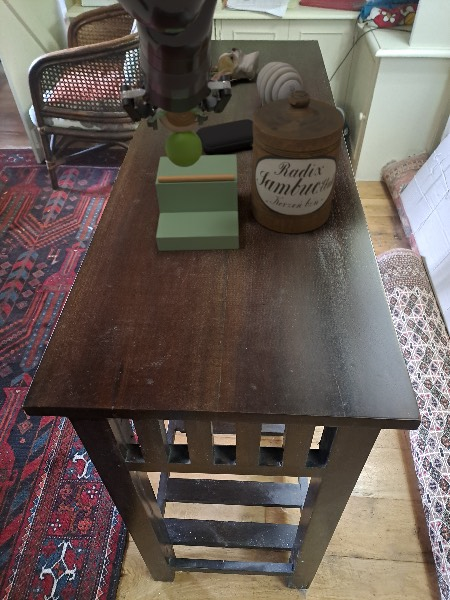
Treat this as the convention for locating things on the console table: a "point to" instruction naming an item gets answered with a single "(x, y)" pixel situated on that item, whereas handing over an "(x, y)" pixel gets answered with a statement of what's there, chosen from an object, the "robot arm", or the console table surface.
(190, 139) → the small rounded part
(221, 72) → the ceramic sculpture
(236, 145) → the carrying case
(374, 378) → the console table surface
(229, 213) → the green step block
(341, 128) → the wooden container
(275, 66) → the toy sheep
